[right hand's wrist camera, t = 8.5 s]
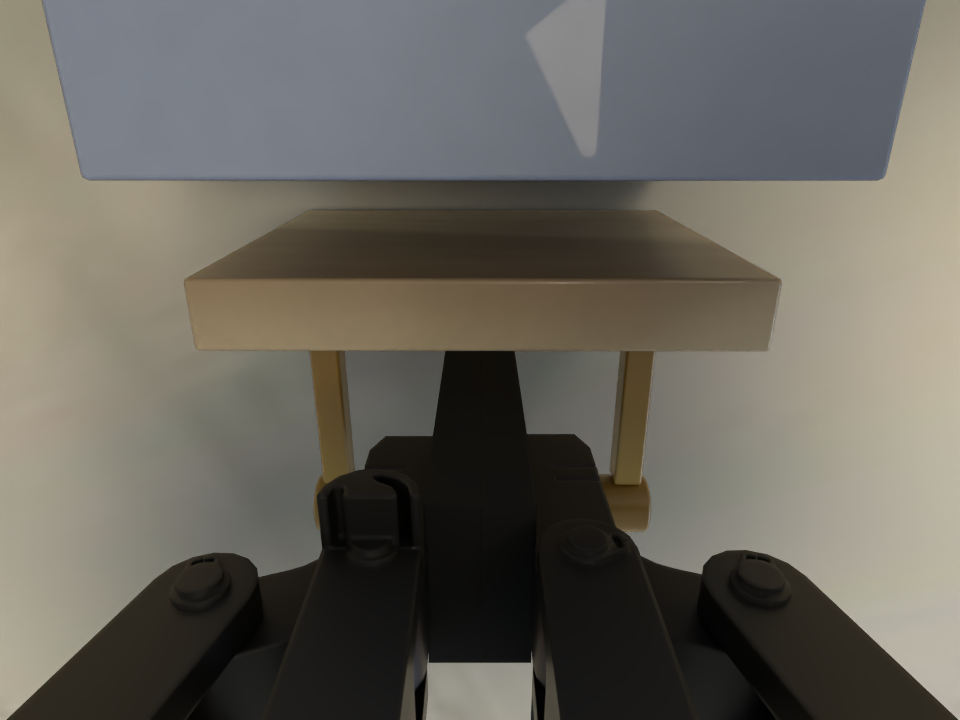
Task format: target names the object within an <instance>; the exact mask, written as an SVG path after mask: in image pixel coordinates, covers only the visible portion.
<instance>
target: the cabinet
mask: <svg viewBox="0 0 960 720" xmlns="http://www.w3.org/2000/svg"><path fill="white" fill-rule="evenodd" d="M925 1H926V0H42V3H43V8H44V12H45V17H46V21H47V26H48V30H49V34H50V39H51V43H52V48H53V52H54V56H55V61H56V65H57V70H58V74H59V79H60V83H61V87H62V92H63V96H64V101H65V105H66V110H67V114H68V118H69V123H70V127H71V132H72V136H73V140H74V145H75V149H76V154H77V158H78V163H79V167H80V171H81V175H82V177H83V178H85V179H87V180H670V181H671V180H672V181H877V180H880V179H882V178H884V176H885V175H886V171H887V166H888V162H889V157H890V153H891V149H892V144H893V140H894V136H895V131H896V127H897V123H898V118H899V114H900V110H901V105H902V101H903V96H904V92H905V88H906V83H907V79H908V75H909V70H910V66H911V62H912V57H913V53H914V49H915V44H916V40H917V35H918V31H919V27H920V22H921V18H922V14H923V9H924V5H925Z"/></svg>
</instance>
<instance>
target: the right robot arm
mask: <svg viewBox="0 0 960 720" xmlns="http://www.w3.org/2000/svg"><path fill="white" fill-rule="evenodd" d="M317 505H318V514H319V523H320V531H321V540H322V551H321V554H320V557H319V559H318V560H316V561H313V562H311V563H309V564H307V565H305V566H302V567H299V568H295V569H292V570H289V571H284V572H280V573H275V574H271V575H266V576H262V577H258V572H257V568H256V567H255V566H254V565H253V563H252V562H251V561H250V560H249V559H248V558H245V557H242V556H239V555H237V554H234V553H211V554H207V555H202V556H197V557H193V558H190V559H188V560H186V561H183V562H181V563H179V564H177V565H174V566H172V567H171V568H169V569H168V570H167V571H165V572H164V573H163V574H161V575H160V576H158V577H157V578H156V579H154V580H153V581H152V582H151V583H150V584H149V585H148V586H147V587H146V588H145V589H144V590H143V591H142V592H141V593H140V594H139V595H138V596H137V597H135V598H134V599H133V600H132V601H131V602H130V603H129V604H128V605H127V606H126V607H125V608H124V609H123V610H122V611H121V612H120V613H119V614H118V615H116V616H115V617H114V618H113V619H112V620H111V621H110V622H109V623H108V624H107V625H106V626H105V627H104V628H103V629H102V630H101V631H100V632H99V633H98V634H96V635H95V636H94V637H93V638H92V639H91V640H90V641H89V642H88V643H87V644H86V645H85V646H84V647H83V648H82V649H81V650H80V651H79V652H77V653H76V654H75V655H74V656H73V657H72V658H71V659H70V660H69V661H68V662H67V663H66V664H65V665H64V666H63V667H62V668H61V669H60V670H59V671H57V672H56V673H55V674H54V675H53V676H52V677H51V678H50V679H49V680H48V681H47V682H46V683H45V684H44V685H43V686H42V687H41V688H40V689H38V690H37V691H36V692H35V693H34V694H33V695H32V696H31V697H30V698H29V699H28V700H27V701H26V702H25V703H24V704H23V705H22V706H21V707H20V708H18V709H17V710H16V711H15V712H14V713H13V714H12V715H11V716H10V717H9V718H8V719H7V720H426V713H427V701H428V682H427V662H428V652H429V663H531V650H532V659H533V682H532V706H531V720H958V719H957V718H956V717H955V716H954V715H953V714H952V713H951V712H949V711H948V710H947V709H946V708H945V707H944V706H943V705H942V704H941V703H940V702H939V701H938V700H937V699H936V698H935V697H934V696H932V695H931V694H930V693H929V692H928V691H927V690H926V689H925V688H924V687H923V686H922V685H921V684H920V683H919V682H918V681H917V680H915V679H914V678H913V677H912V676H911V675H910V674H909V673H908V672H907V671H906V670H905V669H904V668H903V667H902V666H901V665H900V664H898V663H897V662H896V661H895V660H894V659H893V658H892V657H891V656H890V655H889V654H888V653H887V652H886V651H885V650H884V649H883V648H881V647H880V646H879V645H878V644H877V643H876V642H875V641H874V640H873V639H872V638H871V637H870V636H869V635H868V634H867V633H866V632H864V631H863V630H862V629H861V628H860V627H859V626H858V625H857V624H856V623H855V622H854V621H853V620H852V619H851V618H850V617H849V616H847V615H846V614H845V613H844V612H843V611H842V610H841V609H840V608H839V607H838V606H837V605H836V604H835V603H834V602H833V601H832V600H830V599H829V598H828V597H827V596H826V595H825V594H824V593H823V592H822V591H821V590H820V589H819V588H818V587H817V586H816V585H815V584H813V583H812V582H811V581H810V580H809V579H808V578H807V577H806V576H805V575H803V574H802V573H801V572H799V571H798V570H797V569H795V568H794V567H792V566H791V565H790V564H788V563H786V562H784V561H781V560H779V559H777V558H774V557H772V556H770V555H767V554H762V553H758V552H753V551H748V550H733V551H725V552H722V553H719V554H716V555H714V556H712V557H711V558H710V559H709V560H708V561H707V562H706V563H705V565H704V566H703V572H702V575H701V574H697V573H692V572H688V571H683V570H679V569H674V568H670V567H667V566H663V565H660V564H657V563H654V562H652V561H650V560H648V559H646V558H644V557H642V556H640V553H639V550H638V548H637V546H636V545H635V543H634V542H633V540H632V539H631V537H630V536H629V535H627V534H626V533H624V532H623V531H622V530H620V529H619V528H617V527H616V525H615V522H614V519H613V516H612V513H611V510H610V507H609V504H608V501H607V498H606V495H605V492H604V489H603V486H602V483H601V481H600V477H599V474H598V471H597V468H596V467H595V462H594V459H593V456H592V453H591V450H590V448H589V447H588V446H587V445H586V444H585V443H584V442H583V441H581V440H580V439H579V438H578V437H577V436H576V435H575V434H527V433H526V426H525V419H524V413H523V406H522V399H521V392H520V385H519V379H518V372H517V365H516V358H515V352H514V351H445V358H444V365H443V372H442V378H441V385H440V392H439V399H438V406H437V412H436V419H435V426H434V433H433V436H386V437H384V438H383V439H382V440H381V441H380V442H379V443H378V444H376V445H375V446H374V447H373V448H372V449H371V450H370V452H369V455H368V458H367V461H366V464H365V469H364V470H357V471H354V472H351V473H347V474H344V475H341V476H339V477H337V478H335V479H334V480H332V481H330V482H329V483H327V484H326V485H324V487H323V488H322V489H321V491H320V492H319V493H318V494H317Z"/></svg>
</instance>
